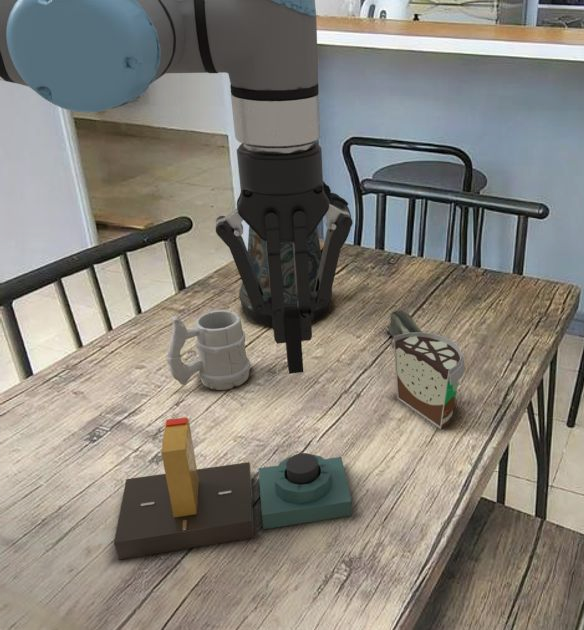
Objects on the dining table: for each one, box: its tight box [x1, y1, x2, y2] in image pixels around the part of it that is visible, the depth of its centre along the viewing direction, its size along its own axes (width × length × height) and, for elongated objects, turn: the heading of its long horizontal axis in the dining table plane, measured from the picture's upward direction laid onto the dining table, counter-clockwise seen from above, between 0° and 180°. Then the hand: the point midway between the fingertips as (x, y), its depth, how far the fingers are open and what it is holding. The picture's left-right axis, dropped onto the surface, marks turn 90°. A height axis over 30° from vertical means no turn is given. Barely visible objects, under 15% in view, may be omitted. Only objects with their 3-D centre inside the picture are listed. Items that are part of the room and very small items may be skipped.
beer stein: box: [238, 180, 352, 328], centre depth 119 cm, size 16×19×25 cm
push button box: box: [258, 454, 353, 530], centre depth 80 cm, size 10×8×4 cm
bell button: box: [286, 452, 319, 485], centre depth 78 cm, size 4×4×2 cm
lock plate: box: [113, 461, 255, 560], centre depth 77 cm, size 14×10×3 cm
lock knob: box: [160, 417, 199, 517], centre depth 74 cm, size 6×2×9 cm, turn 14°
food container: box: [391, 331, 466, 430], centre depth 96 cm, size 12×6×10 cm, turn 41°
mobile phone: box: [385, 310, 423, 338], centre depth 110 cm, size 5×3×15 cm
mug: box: [165, 309, 251, 391], centre depth 99 cm, size 8×12×12 cm, turn 127°
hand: (295, 366), depth 72 cm, fingers closed
